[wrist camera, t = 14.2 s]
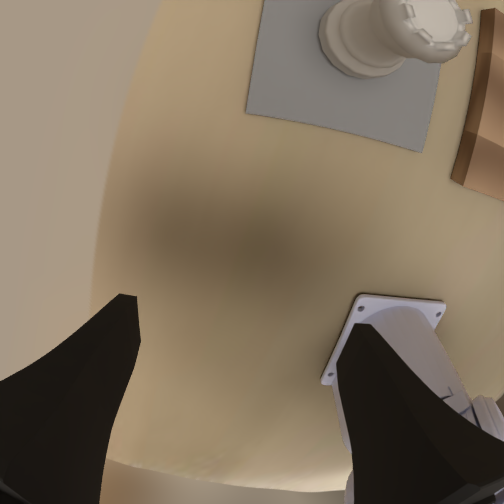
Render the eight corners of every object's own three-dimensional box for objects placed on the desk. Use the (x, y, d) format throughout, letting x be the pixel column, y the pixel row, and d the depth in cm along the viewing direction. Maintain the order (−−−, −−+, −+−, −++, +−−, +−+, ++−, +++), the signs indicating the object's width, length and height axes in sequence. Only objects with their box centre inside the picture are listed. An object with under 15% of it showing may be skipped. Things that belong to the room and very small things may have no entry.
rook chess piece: (318, 77, 14) (375, 71, 7) (314, -3, 12) (362, -66, 5) (399, 83, 14) (496, 95, 7) (395, 7, 12) (486, -26, 5)
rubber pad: (417, 150, 16) (421, 153, 16) (245, 112, 16) (245, 113, 15) (443, 1, 11) (448, -1, 11) (274, -53, 11) (275, -57, 10)
